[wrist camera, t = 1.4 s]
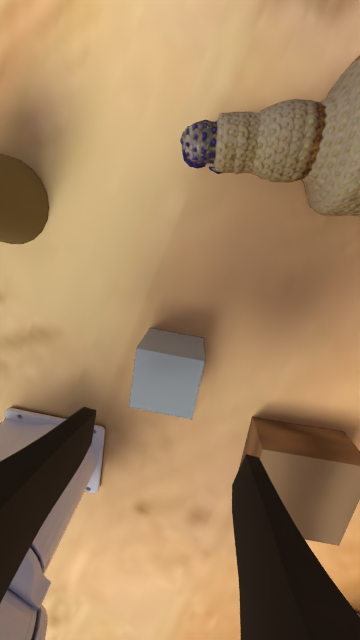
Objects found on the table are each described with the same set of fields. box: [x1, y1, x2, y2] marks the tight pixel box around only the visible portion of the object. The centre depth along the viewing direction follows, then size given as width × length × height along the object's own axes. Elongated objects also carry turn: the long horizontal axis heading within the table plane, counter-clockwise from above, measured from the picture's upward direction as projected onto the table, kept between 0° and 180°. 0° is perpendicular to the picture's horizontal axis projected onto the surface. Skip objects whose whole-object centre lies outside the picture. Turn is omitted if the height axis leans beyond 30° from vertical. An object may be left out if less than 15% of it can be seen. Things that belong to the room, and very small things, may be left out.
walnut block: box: [239, 417, 360, 546], centre depth 21 cm, size 8×8×4 cm
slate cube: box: [129, 328, 205, 420], centre depth 18 cm, size 4×4×4 cm
